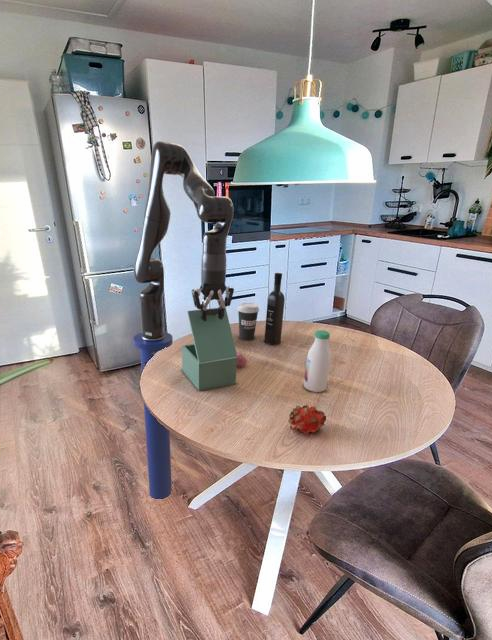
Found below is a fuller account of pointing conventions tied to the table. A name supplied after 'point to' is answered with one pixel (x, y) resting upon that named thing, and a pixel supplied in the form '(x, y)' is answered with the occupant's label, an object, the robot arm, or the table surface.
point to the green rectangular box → (208, 370)
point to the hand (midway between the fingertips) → (212, 319)
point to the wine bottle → (274, 313)
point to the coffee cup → (247, 320)
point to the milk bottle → (318, 363)
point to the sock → (241, 360)
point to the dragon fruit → (306, 419)
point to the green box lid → (212, 335)
